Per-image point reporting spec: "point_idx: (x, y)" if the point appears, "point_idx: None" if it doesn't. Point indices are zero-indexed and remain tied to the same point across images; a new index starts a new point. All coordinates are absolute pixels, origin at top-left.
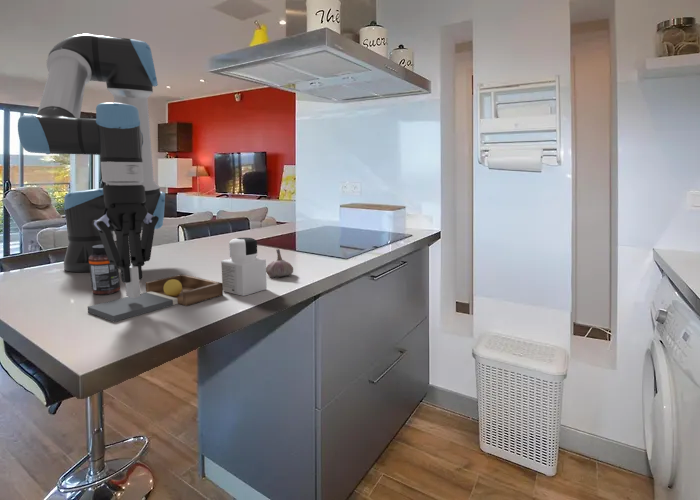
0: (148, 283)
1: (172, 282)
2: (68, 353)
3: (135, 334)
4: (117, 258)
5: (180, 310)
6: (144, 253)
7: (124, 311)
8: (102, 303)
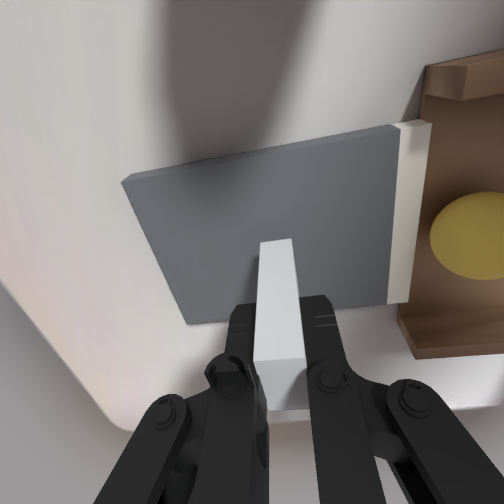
0: (464, 99)
1: (480, 276)
2: (99, 387)
3: (210, 386)
4: (177, 498)
5: (359, 337)
6: (410, 493)
7: (220, 310)
8: (177, 179)
